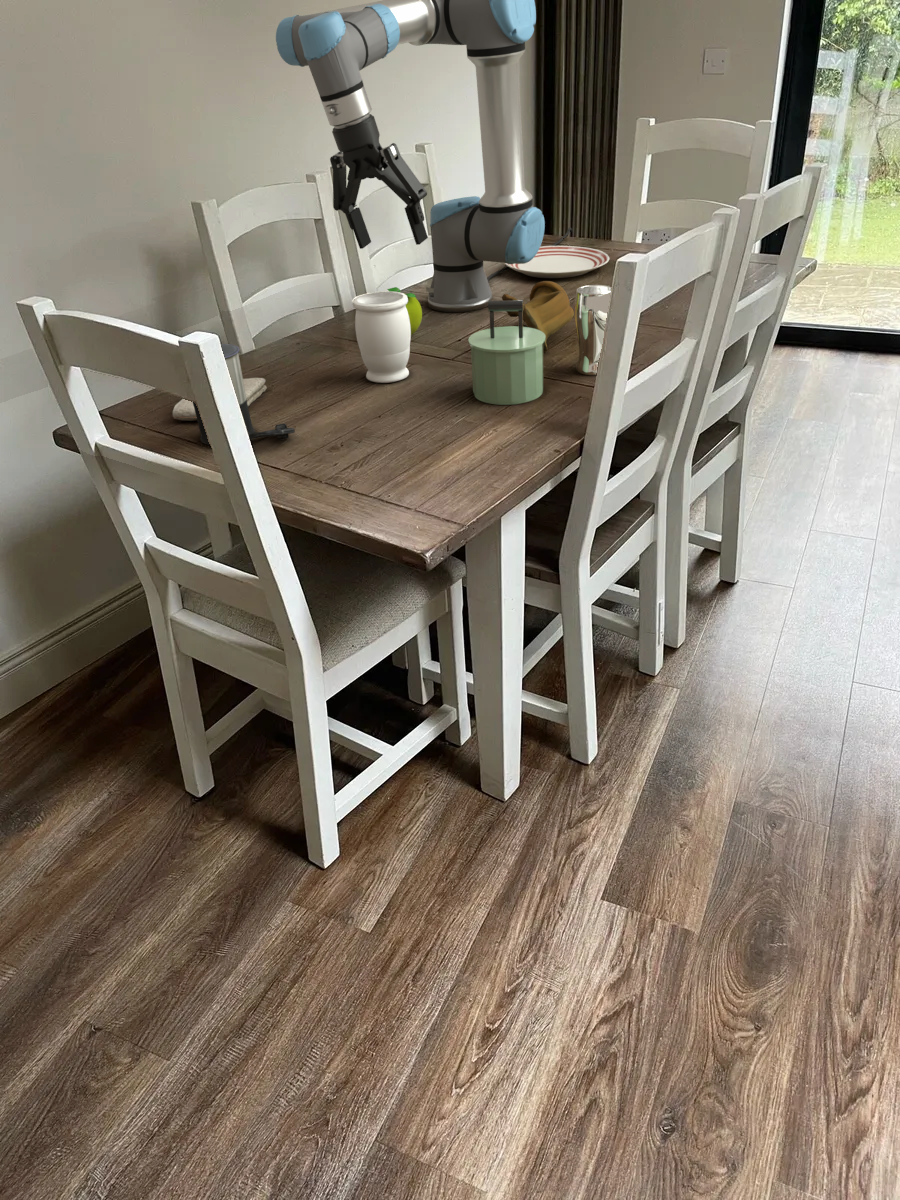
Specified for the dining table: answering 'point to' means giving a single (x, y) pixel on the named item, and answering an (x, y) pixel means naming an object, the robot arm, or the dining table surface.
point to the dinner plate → (562, 262)
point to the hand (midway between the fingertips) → (393, 243)
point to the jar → (383, 334)
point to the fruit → (412, 310)
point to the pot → (507, 376)
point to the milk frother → (242, 399)
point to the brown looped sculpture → (545, 309)
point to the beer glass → (591, 325)
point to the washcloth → (252, 391)
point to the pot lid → (506, 332)
